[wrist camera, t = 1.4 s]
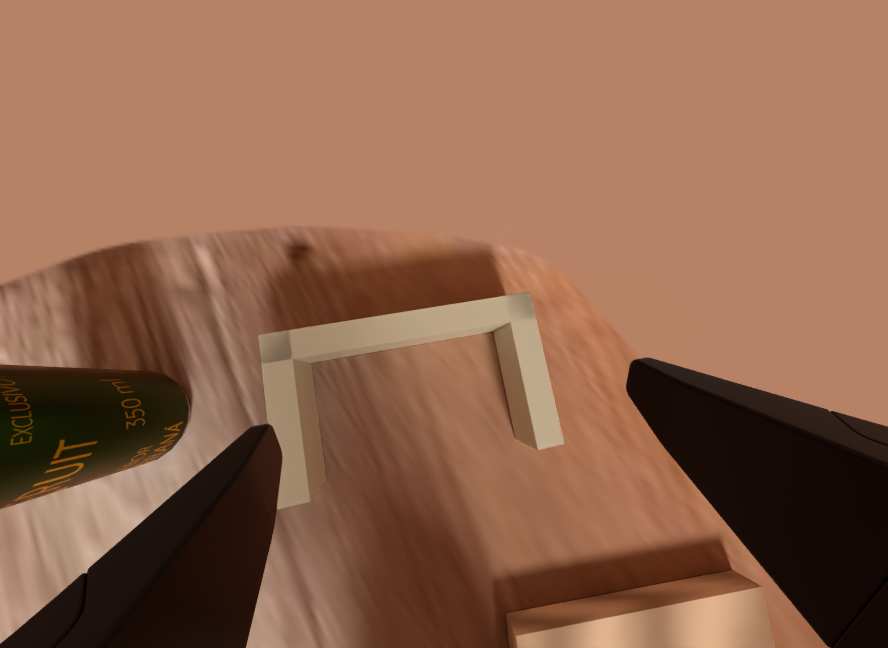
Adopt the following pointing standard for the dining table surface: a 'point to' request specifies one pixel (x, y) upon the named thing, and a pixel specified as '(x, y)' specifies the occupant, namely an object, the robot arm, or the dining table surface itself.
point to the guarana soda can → (82, 425)
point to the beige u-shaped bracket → (298, 348)
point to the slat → (653, 617)
